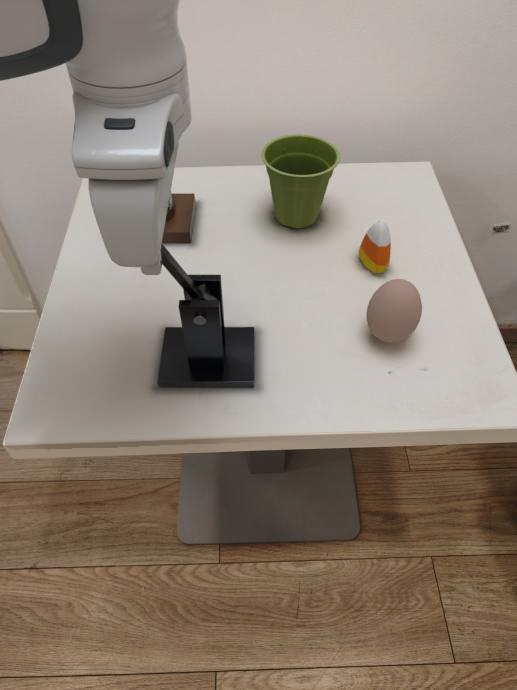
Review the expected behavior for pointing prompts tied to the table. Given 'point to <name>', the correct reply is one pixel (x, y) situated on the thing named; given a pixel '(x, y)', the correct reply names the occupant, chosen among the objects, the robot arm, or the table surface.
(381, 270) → the candy corn
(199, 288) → the lever
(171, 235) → the button block
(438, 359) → the table surface
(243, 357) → the bracket
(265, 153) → the plant pot
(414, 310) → the egg
